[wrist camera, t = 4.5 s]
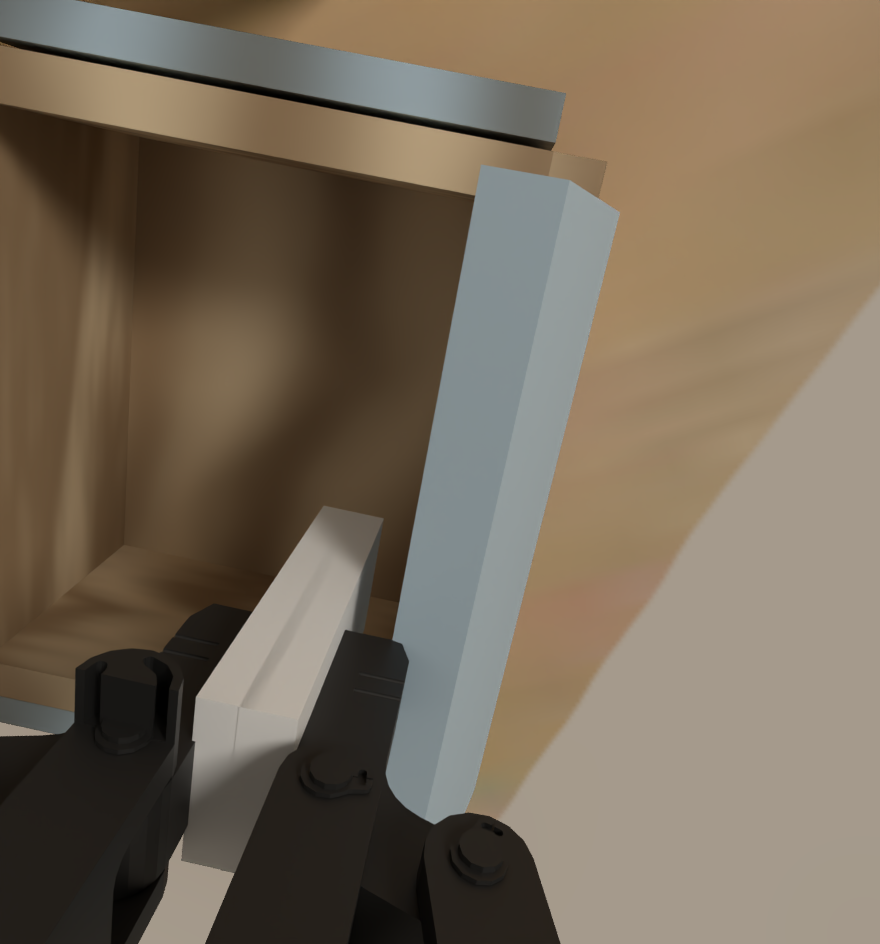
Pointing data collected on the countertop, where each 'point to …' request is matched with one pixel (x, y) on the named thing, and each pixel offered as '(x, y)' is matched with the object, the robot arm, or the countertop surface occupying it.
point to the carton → (217, 314)
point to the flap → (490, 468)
